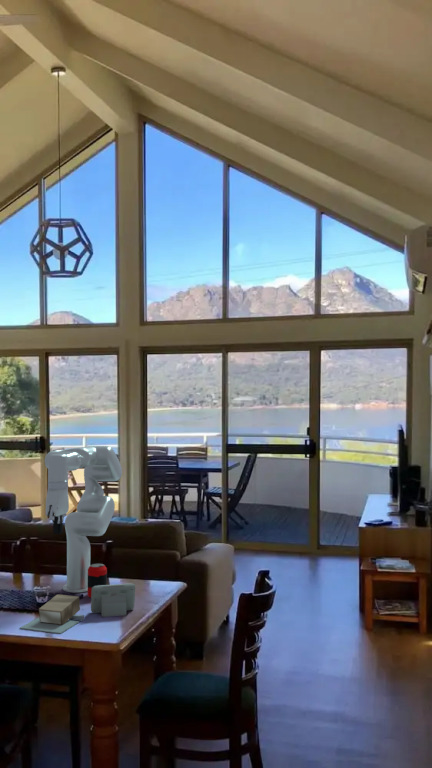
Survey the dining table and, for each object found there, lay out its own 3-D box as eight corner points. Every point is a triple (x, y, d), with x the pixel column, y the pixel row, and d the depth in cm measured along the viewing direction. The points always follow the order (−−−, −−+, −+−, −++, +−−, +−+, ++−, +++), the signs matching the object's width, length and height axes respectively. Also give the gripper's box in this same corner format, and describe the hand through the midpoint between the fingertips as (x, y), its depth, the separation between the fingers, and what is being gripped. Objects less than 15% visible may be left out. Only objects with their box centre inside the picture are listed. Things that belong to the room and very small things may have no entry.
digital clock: (135, 608, 244) (136, 580, 244) (134, 616, 235) (134, 587, 235) (92, 609, 243) (92, 580, 243) (88, 617, 234) (89, 587, 234)
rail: (45, 614, 236) (45, 610, 236) (84, 619, 231) (84, 615, 231) (43, 616, 235) (43, 612, 235) (82, 620, 230) (82, 616, 230)
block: (57, 594, 238) (38, 609, 226) (79, 596, 235) (60, 611, 223) (58, 607, 238) (39, 622, 227) (80, 609, 235) (62, 625, 224)
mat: (39, 617, 233) (39, 616, 233) (79, 622, 228) (79, 621, 228) (19, 628, 222) (19, 627, 222) (60, 634, 217) (60, 632, 217)
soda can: (96, 599, 255) (96, 568, 256) (83, 596, 260) (83, 565, 260) (110, 595, 261) (110, 564, 262) (97, 591, 266) (97, 562, 266)
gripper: (59, 482, 260) (59, 528, 259) (38, 488, 245) (38, 536, 245) (76, 483, 257) (76, 530, 257) (56, 488, 243) (56, 538, 243)
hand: (57, 533), depth 251 cm, fingers closed
